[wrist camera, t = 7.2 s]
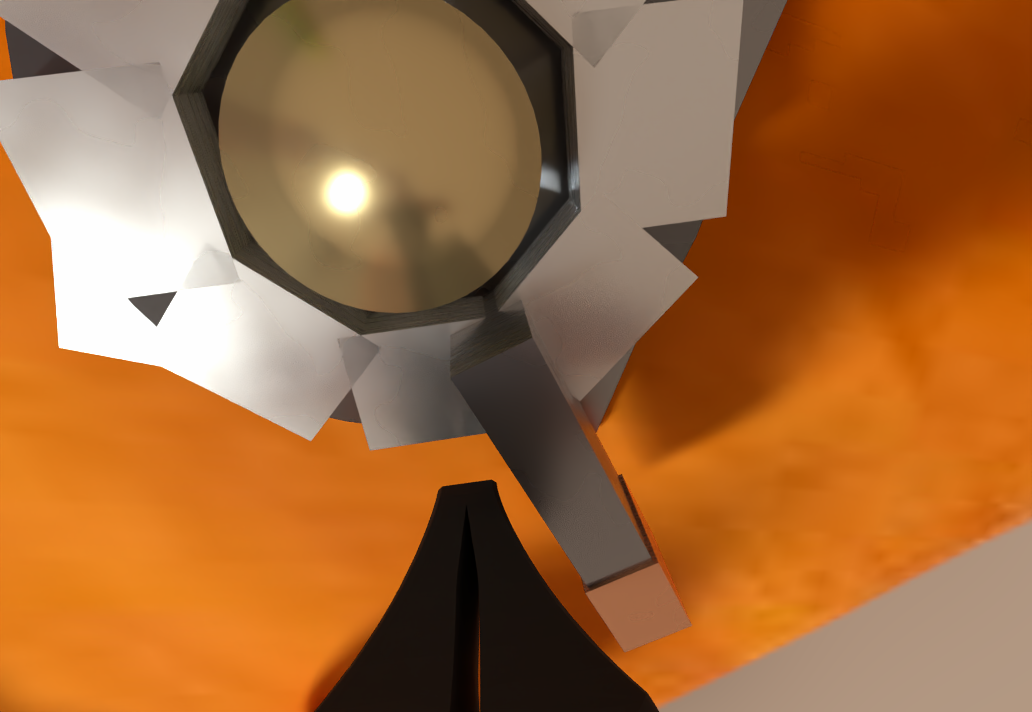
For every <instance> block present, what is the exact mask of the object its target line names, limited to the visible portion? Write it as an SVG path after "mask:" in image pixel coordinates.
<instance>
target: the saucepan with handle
mask: <svg viewBox="0 0 1032 712" xmlns="http://www.w3.org/2000/svg"><path fill="white" fill-rule="evenodd" d="M249 1H250V0H0V17H2V18H3V19H5V20H6V21H8V22H9V23H11V24H12V25H14V26H15V27H17V28H18V29H20V30H22V31H23V32H25V33H26V34H28V35H29V36H31V37H32V38H34V39H35V40H37V41H38V42H40V43H41V44H43V45H44V46H46V47H47V48H49V49H50V50H52V51H53V52H55V53H56V54H58V55H59V56H61V57H62V58H64V59H65V60H67V61H68V62H70V63H71V64H73V65H74V66H76V67H77V68H79V69H80V70H82V71H77V72H69V73H60V74H52V75H43V76H35V77H26V78H18V79H9V80H1V81H0V141H1V143H2V145H3V147H4V149H5V151H6V153H7V155H8V157H9V159H10V160H11V162H12V164H13V166H14V168H15V170H16V172H17V174H18V176H19V178H20V179H21V181H22V183H23V185H24V187H25V189H26V191H27V193H28V195H29V197H30V198H31V200H32V202H33V204H34V206H35V208H36V210H37V212H38V214H39V216H40V217H41V219H42V221H43V223H44V225H45V227H46V229H47V231H48V233H49V235H50V236H51V238H52V240H53V242H54V244H55V246H56V248H57V250H58V252H59V254H60V255H61V257H62V259H63V261H64V263H65V265H66V267H67V269H68V271H69V273H70V274H71V276H72V278H73V280H74V282H75V284H76V286H77V288H78V290H79V292H80V293H81V295H82V297H83V299H84V301H85V303H93V302H100V301H108V300H115V299H122V298H130V297H137V296H144V295H152V294H159V293H166V292H174V291H177V293H176V295H175V297H174V298H173V300H172V302H171V304H170V305H169V307H168V309H167V311H166V312H165V314H164V316H163V318H162V319H161V321H160V323H159V324H158V326H157V328H156V330H155V331H154V333H153V335H152V337H151V338H150V340H149V342H148V344H147V345H146V347H145V349H144V351H143V352H142V354H141V356H142V357H144V358H146V359H148V360H150V361H152V362H154V363H156V364H158V365H160V366H162V367H164V368H166V369H168V370H170V371H172V372H174V373H176V374H178V375H180V376H182V377H184V378H186V379H188V380H190V381H192V382H194V383H196V384H198V385H200V386H202V387H204V388H206V389H208V390H210V391H212V392H214V393H216V394H218V395H220V396H222V397H224V398H226V399H228V400H230V401H232V402H234V403H236V404H238V405H240V406H242V407H244V408H246V409H248V410H250V411H252V412H254V413H256V414H258V415H260V416H262V417H264V418H266V419H268V420H270V421H272V422H274V423H276V424H278V425H280V426H282V427H284V428H286V429H288V430H290V431H292V432H294V433H296V434H298V435H300V436H302V437H304V438H306V439H308V440H310V441H311V440H312V439H313V438H314V436H315V435H316V434H317V432H318V431H319V430H320V429H321V427H322V426H323V425H324V423H325V422H326V421H327V419H328V418H329V417H330V415H331V414H332V413H333V411H334V410H335V409H336V407H337V406H338V405H339V404H340V402H341V401H342V400H343V398H344V397H345V396H346V394H347V393H348V392H349V390H350V389H351V388H352V391H353V395H354V398H355V402H356V405H357V408H358V412H359V415H360V418H361V422H362V425H363V428H364V432H365V435H366V439H367V442H368V445H369V449H370V450H377V449H383V448H390V447H397V446H403V445H410V444H417V443H423V442H430V441H436V440H443V439H450V438H456V437H463V436H470V435H476V434H483V433H487V434H488V436H489V437H490V439H491V441H492V442H493V444H494V445H495V447H496V448H497V450H498V451H499V453H500V454H501V456H502V457H503V459H504V460H505V462H506V463H507V465H508V466H509V468H510V469H511V471H512V473H513V474H514V476H515V477H516V479H517V480H518V482H519V483H520V485H521V486H522V488H523V489H524V491H525V492H526V494H527V495H528V497H529V498H530V500H531V501H532V503H533V504H534V506H535V508H536V509H537V511H538V512H539V514H540V515H541V517H542V518H543V520H544V521H545V523H546V524H547V526H548V527H549V529H550V530H551V532H552V533H553V535H554V536H555V538H556V540H557V541H558V543H559V544H560V546H561V547H562V549H563V550H564V552H565V553H566V555H567V556H568V558H569V559H570V561H571V562H572V564H573V565H574V567H575V568H576V570H577V571H578V573H579V575H580V576H581V578H582V582H583V586H584V590H585V593H586V595H587V596H588V598H589V599H590V601H591V602H592V604H593V605H594V607H595V608H596V610H597V611H598V613H599V614H600V616H601V617H602V619H603V620H604V622H605V623H606V625H607V626H608V628H609V629H610V631H611V632H612V634H613V635H614V637H615V639H616V640H617V642H618V643H619V645H620V646H621V648H622V649H623V651H624V652H627V651H629V650H632V649H634V648H637V647H639V646H642V645H645V644H647V643H650V642H652V641H655V640H657V639H660V638H662V637H665V636H667V635H670V634H672V633H675V632H677V631H680V630H682V629H685V628H687V627H690V626H692V624H691V622H690V620H689V617H688V615H687V613H686V610H685V608H684V606H683V603H682V601H681V599H680V596H679V594H678V592H677V589H676V587H675V585H674V582H673V580H672V578H671V575H670V573H669V571H668V568H667V566H666V564H665V561H664V559H663V557H662V555H661V552H660V550H659V548H658V545H657V543H656V541H655V538H654V536H653V534H652V532H651V530H650V528H649V526H648V524H647V522H646V520H645V518H644V516H643V514H642V512H641V510H640V509H639V507H638V505H637V503H636V501H635V499H634V497H633V495H632V493H631V491H630V489H629V487H628V485H627V483H626V482H625V480H624V478H623V476H622V474H621V475H619V476H618V474H617V472H616V471H615V469H614V467H613V465H612V463H611V461H610V459H609V457H608V455H607V453H606V451H605V450H604V448H603V446H602V444H601V442H600V440H599V438H598V436H597V434H596V432H595V430H594V429H593V427H592V425H591V423H590V421H589V419H588V417H587V415H586V413H585V411H584V410H583V408H582V406H581V404H580V402H579V401H581V400H582V399H583V398H584V397H585V395H586V394H587V393H588V392H589V391H590V390H591V389H592V388H593V387H594V386H595V385H596V384H597V383H598V382H599V381H600V380H601V379H602V378H603V377H604V376H605V375H606V374H607V372H608V371H609V370H610V369H611V368H612V367H613V366H614V365H615V364H616V363H617V362H618V361H619V360H620V359H621V358H622V357H623V356H624V355H625V354H626V353H627V352H628V350H629V349H630V348H631V347H632V346H633V345H634V344H635V343H636V342H637V341H638V340H639V339H640V338H641V337H642V336H643V335H644V334H645V333H646V332H647V331H648V330H649V329H650V327H651V326H652V325H653V324H654V323H655V322H656V321H657V320H658V319H659V318H660V317H661V316H662V315H663V314H664V313H665V312H666V311H667V310H668V309H669V308H670V307H671V305H672V304H673V303H674V302H675V301H676V300H677V299H678V298H679V297H680V296H681V295H682V294H683V293H684V292H685V291H686V290H687V289H688V288H689V287H690V286H691V285H692V284H693V282H694V281H695V280H696V279H697V278H698V277H697V276H696V275H695V274H694V273H693V272H692V271H691V270H689V269H688V268H687V267H686V266H685V265H684V264H683V263H681V262H680V261H679V260H678V259H677V258H676V257H675V256H673V255H672V254H671V253H670V252H669V251H668V250H667V249H665V248H664V247H663V246H662V245H661V244H660V243H659V242H657V241H656V240H655V239H654V238H653V237H652V236H651V235H649V234H648V233H647V232H646V231H645V230H644V229H642V228H644V227H652V226H659V225H667V224H674V223H681V222H689V221H696V220H703V219H711V218H718V217H725V216H726V213H727V200H728V188H729V175H730V163H731V150H732V137H733V125H734V112H735V99H736V87H737V74H738V62H739V49H740V36H741V24H742V11H743V0H676V1H668V2H659V3H651V4H644V2H645V1H646V0H510V1H511V2H512V3H513V4H514V5H515V6H517V7H518V8H519V9H520V10H521V11H522V12H523V13H524V14H525V15H526V16H527V17H528V18H529V19H530V20H531V21H532V22H533V23H534V24H535V25H536V26H537V27H538V28H539V29H540V30H541V31H542V32H543V33H544V34H545V35H546V36H547V37H548V38H549V39H551V40H552V41H553V42H554V43H555V44H556V45H557V46H558V47H559V48H560V56H561V74H562V91H563V108H564V125H565V142H566V159H567V176H568V193H569V198H568V199H567V200H566V201H565V202H564V204H563V205H562V206H561V207H560V209H559V210H558V211H557V212H556V214H555V215H554V216H553V217H552V218H551V220H550V221H549V222H548V223H547V225H546V226H545V227H544V228H543V230H542V231H541V232H540V233H539V235H538V236H537V237H536V238H535V239H534V241H533V242H532V243H531V244H530V246H529V247H528V248H527V249H526V251H525V252H524V253H523V254H522V255H521V257H520V258H519V259H518V260H517V262H516V263H515V264H514V265H513V267H512V268H511V269H510V270H509V272H508V273H507V274H506V275H505V276H504V278H503V279H502V280H501V281H500V283H499V284H498V285H497V286H496V288H495V289H494V290H492V291H490V292H488V293H486V294H484V295H482V296H475V297H468V298H460V299H457V300H455V301H453V302H451V303H448V304H445V305H442V306H439V307H436V308H432V309H427V310H422V311H417V312H405V313H387V312H375V311H367V310H363V309H358V308H355V307H351V306H348V305H344V304H341V303H339V302H336V301H334V300H332V299H329V298H327V297H324V296H322V295H321V294H319V293H317V292H315V291H313V290H311V289H310V288H308V287H306V286H305V285H303V284H302V283H300V282H299V281H298V280H296V279H295V278H293V277H292V276H290V275H289V274H288V273H287V272H286V271H285V270H283V269H282V268H281V267H280V266H279V265H278V264H277V263H276V262H274V261H273V259H272V258H271V257H270V256H269V255H268V254H267V253H266V252H265V251H264V249H263V248H262V247H261V246H260V245H259V244H258V242H257V241H255V240H254V239H253V237H252V235H251V232H250V231H249V230H248V228H247V227H246V225H245V223H244V221H243V219H242V218H241V216H240V214H239V212H238V210H237V209H236V206H235V204H234V201H233V199H232V196H231V194H230V192H229V189H228V186H227V183H226V179H225V175H224V172H223V168H222V163H221V156H220V149H219V139H218V136H217V133H216V130H215V127H214V125H213V122H212V119H211V116H210V113H209V110H208V107H207V104H206V101H205V98H204V96H203V93H202V92H203V90H204V88H205V86H206V84H207V82H208V80H209V78H210V76H211V74H212V72H213V70H214V68H215V67H216V65H217V63H218V61H219V59H220V57H221V55H222V53H223V51H224V49H225V47H226V45H227V43H228V41H229V39H230V37H231V36H232V34H233V32H234V30H235V28H236V26H237V24H238V22H239V20H240V18H241V16H242V14H243V12H244V10H245V8H246V6H247V4H248V3H249Z"/></svg>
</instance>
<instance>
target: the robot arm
mask: <svg viewBox="0 0 1032 712" xmlns="http://www.w3.org/2000/svg"><path fill="white" fill-rule="evenodd" d="M479 616H480V712H659V711H658V709H657V707H656V706H655V704H654V702H653V701H652V699H651V698H650V696H649V694H648V693H647V692H646V691H645V690H643V689H642V688H641V687H640V686H639V685H638V684H637V683H636V682H634V681H633V680H632V679H631V678H630V677H629V676H628V675H627V674H626V673H625V672H624V671H623V670H621V669H620V668H619V667H618V666H617V665H616V664H615V663H614V662H613V661H612V660H611V659H610V658H609V657H608V656H607V655H606V654H605V653H604V652H603V651H602V650H601V649H600V648H599V647H598V646H597V645H596V643H595V642H594V641H593V640H592V639H591V638H590V637H589V636H588V635H587V633H586V632H585V631H584V630H583V629H582V628H581V627H580V626H579V624H578V623H577V622H576V621H575V620H574V619H573V618H572V616H571V615H570V614H569V613H568V612H567V610H566V609H565V608H564V606H563V605H562V604H561V603H560V601H559V600H558V599H557V598H556V596H555V595H554V593H553V592H552V591H551V589H550V588H549V587H548V585H547V584H546V582H545V581H544V580H543V578H542V577H541V575H540V574H539V572H538V571H537V569H536V567H535V566H534V564H533V563H532V561H531V560H530V558H529V556H528V555H527V553H526V551H525V550H524V548H523V546H522V544H521V542H520V541H519V539H518V537H517V535H516V533H515V531H514V529H513V527H512V525H511V523H510V521H509V519H508V517H507V514H506V512H505V510H504V507H503V505H502V502H501V499H500V496H499V493H498V489H497V483H496V482H494V481H493V480H486V481H478V482H471V483H464V484H457V485H450V486H443V487H441V488H440V489H439V490H438V494H437V498H436V502H435V505H434V508H433V512H432V515H431V517H430V520H429V523H428V526H427V528H426V531H425V533H424V536H423V538H422V541H421V543H420V545H419V548H418V550H417V553H416V555H415V557H414V559H413V561H412V563H411V565H410V568H409V570H408V572H407V574H406V576H405V578H404V580H403V582H402V584H401V586H400V588H399V590H398V591H397V593H396V595H395V597H394V599H393V601H392V602H391V604H390V606H389V608H388V609H387V611H386V613H385V614H384V616H383V618H382V619H381V621H380V623H379V624H378V626H377V627H376V629H375V630H374V632H373V633H372V635H371V636H370V638H369V640H368V641H367V643H366V644H365V646H364V647H363V649H362V650H361V652H360V653H359V654H358V656H357V657H356V659H355V660H354V661H353V663H352V664H351V666H350V667H349V668H348V670H347V671H346V672H345V673H344V675H343V676H342V677H341V679H340V680H339V681H338V682H337V684H336V685H335V686H334V688H333V689H332V690H331V691H330V693H329V694H328V695H327V697H326V698H325V699H324V700H323V702H322V703H321V704H320V705H319V707H318V708H317V709H316V710H315V711H314V712H479V696H478V656H479Z"/></svg>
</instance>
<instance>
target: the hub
mask: <svg viewBox="0 0 1032 712" xmlns="http://www.w3.org/2000/svg"><path fill="white" fill-rule="evenodd" d="M668 1H676V0H646V1H645V2H644V4H651V3H659V2H668ZM786 2H787V0H743V11H742V24H741V36H740V49H739V62H738V74H737V87H736V99H735V112H734V119H735V117H736V115H737V113H738V110H739V108H740V106H741V104H742V101H743V99H744V97H745V95H746V92H747V90H748V88H749V86H750V83H751V81H752V79H753V76H754V74H755V72H756V70H757V67H758V65H759V63H760V61H761V58H762V56H763V54H764V52H765V49H766V47H767V45H768V43H769V40H770V38H771V36H772V33H773V31H774V29H775V27H776V24H777V22H778V20H779V18H780V15H781V13H782V11H783V9H784V6H785V4H786ZM5 29H6V37H7V43H8V49H9V55H10V62H11V68H12V74H13V79H18V78H26V77H35V76H43V75H52V74H60V73H69V72H77V71H82V70H80V69H79V68H77V67H76V66H74V65H73V64H71V63H70V62H68V61H67V60H65V59H64V58H62V57H61V56H59V55H58V54H56V53H55V52H53V51H52V50H50V49H49V48H47V47H46V46H44V45H43V44H41V43H40V42H38V41H37V40H35V39H34V38H32V37H31V36H29V35H28V34H26V33H25V32H23V31H22V30H20V29H18V28H17V27H15V26H14V25H12V24H11V23H9V22H8V21H6V20H5ZM202 93H203V96H204V98H205V101H206V104H207V107H208V110H209V113H210V116H211V119H212V122H213V125H214V127H215V130H216V133H217V136H218V139H219V149H220V156H221V163H222V168H223V172H224V175H225V179H226V183H227V186H228V189H229V192H230V194H231V196H232V199H233V201H234V204H235V206H236V209H237V210H238V212H239V214H240V216H241V218H242V219H243V221H244V223H245V225H246V227H247V228H248V230H249V231H250V232H251V235H252V237H253V239H254V240H255V241H257V242H258V244H259V245H260V246H261V247H262V248H263V249H264V251H265V252H266V253H267V254H268V255H269V256H270V257H271V258H272V259H273V261H274V262H276V263H277V264H278V265H279V266H280V267H281V268H282V269H283V270H285V271H286V272H287V273H288V274H289V275H290V276H292V277H293V278H295V279H296V280H298V281H299V282H300V283H302V284H303V285H305V286H306V287H308V288H310V289H311V290H313V291H315V292H317V293H319V294H321V295H322V296H324V297H327V298H329V299H332V300H334V301H336V302H339V303H341V304H344V305H348V306H351V307H355V308H358V309H363V310H367V311H375V312H387V313H405V312H417V311H422V310H427V309H432V308H436V307H439V306H442V305H445V304H448V303H451V302H453V301H455V300H457V299H460V298H468V297H475V296H482V295H484V294H486V293H488V292H490V291H492V290H494V289H495V288H496V286H497V285H498V284H499V283H500V281H501V280H502V279H503V278H504V276H505V275H506V274H507V273H508V272H509V270H510V269H511V268H512V267H513V265H514V264H515V263H516V262H517V260H518V259H519V258H520V257H521V255H522V254H523V253H524V252H525V251H526V249H527V248H528V247H529V246H530V244H531V243H532V242H533V241H534V239H535V238H536V237H537V236H538V235H539V233H540V232H541V231H542V230H543V228H544V227H545V226H546V225H547V223H548V222H549V221H550V220H551V218H552V217H553V216H554V215H555V214H556V212H557V211H558V210H559V209H560V207H561V206H562V205H563V204H564V202H565V201H566V200H567V199H568V198H569V193H568V176H567V159H566V142H565V125H564V108H563V91H562V74H561V56H560V48H559V47H558V46H557V45H556V44H555V43H554V42H553V41H552V40H551V39H549V38H548V37H547V36H546V35H545V34H544V33H543V32H542V31H541V30H540V29H539V28H538V27H537V26H536V25H535V24H534V23H533V22H532V21H531V20H530V19H529V18H528V17H527V16H526V15H525V14H524V13H523V12H522V11H521V10H520V9H519V8H518V7H517V6H515V5H514V4H513V3H512V2H511V1H510V0H250V1H249V3H248V4H247V6H246V8H245V10H244V12H243V14H242V16H241V18H240V20H239V22H238V24H237V26H236V28H235V30H234V32H233V34H232V36H231V37H230V39H229V41H228V43H227V45H226V47H225V49H224V51H223V53H222V55H221V57H220V59H219V61H218V63H217V65H216V67H215V68H214V70H213V72H212V74H211V76H210V78H209V80H208V82H207V84H206V86H205V88H204V90H203V92H202ZM701 223H702V220H696V221H689V222H681V223H674V224H667V225H659V226H652V227H644V228H642V229H644V230H645V231H646V232H647V233H648V234H649V235H651V236H652V237H653V238H654V239H655V240H656V241H657V242H659V243H660V244H661V245H662V246H663V247H664V248H665V249H667V250H668V251H669V252H670V253H671V254H672V255H673V256H675V257H676V258H677V259H678V260H679V261H680V262H681V263H683V261H684V259H685V257H686V255H687V253H688V251H689V249H690V247H691V245H692V244H693V242H694V240H695V238H696V236H697V233H698V231H699V228H700V226H701ZM51 243H52V257H53V270H54V283H55V297H56V310H57V324H58V337H59V347H60V348H66V349H71V350H76V351H82V352H87V353H92V354H98V355H103V356H108V357H114V358H119V359H124V360H130V361H135V362H140V363H146V364H151V365H156V366H160V365H158V364H156V363H154V362H152V361H150V360H148V359H146V358H144V357H142V356H141V354H142V352H143V351H144V349H145V347H146V345H147V344H148V342H149V340H150V338H151V337H152V335H153V333H154V331H155V330H156V328H157V326H158V324H159V323H160V321H161V319H162V318H163V316H164V314H165V312H166V311H167V309H168V307H169V305H170V304H171V302H172V300H173V298H174V297H175V295H176V293H177V291H174V292H166V293H159V294H152V295H144V296H137V297H130V298H122V299H115V300H108V301H100V302H93V303H85V301H84V299H83V297H82V295H81V293H80V292H79V290H78V288H77V286H76V284H75V282H74V280H73V278H72V276H71V274H70V273H69V271H68V269H67V267H66V265H65V263H64V261H63V259H62V257H61V255H60V254H59V252H58V250H57V248H56V246H55V244H54V242H53V240H52V238H51ZM635 344H636V343H635ZM635 344H634V345H633V346H632V347H631V348H630V349H629V350H628V352H627V353H626V354H625V355H624V356H623V357H622V358H621V359H620V360H619V361H618V362H617V363H616V364H615V365H614V366H613V367H612V368H611V369H610V370H609V371H608V372H607V374H606V375H605V376H604V377H603V378H602V379H601V380H600V381H599V382H598V383H597V384H596V385H595V386H594V387H593V388H592V389H591V390H590V391H589V392H588V393H587V394H586V395H585V397H584V398H583V399H582V400H581V401H579V402H580V404H581V406H582V408H583V410H584V411H585V413H586V415H587V417H588V419H589V421H590V423H591V425H592V427H593V429H594V430H595V432H597V430H598V427H599V425H600V423H601V420H602V418H603V416H604V414H605V411H606V409H607V407H608V405H609V402H610V400H611V398H612V396H613V393H614V391H615V389H616V387H617V384H618V382H619V380H620V377H621V375H622V373H623V371H624V368H625V366H626V364H627V362H628V359H629V357H630V355H631V353H632V350H633V348H634V346H635ZM330 418H334V419H338V420H343V421H348V422H356V423H362V422H361V418H360V415H359V412H358V408H357V405H356V402H355V398H354V395H353V391H352V388H351V389H350V390H349V392H348V393H347V394H346V396H345V397H344V398H343V400H342V401H341V402H340V404H339V405H338V406H337V407H336V409H335V410H334V411H333V413H332V414H331V415H330Z"/></svg>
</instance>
